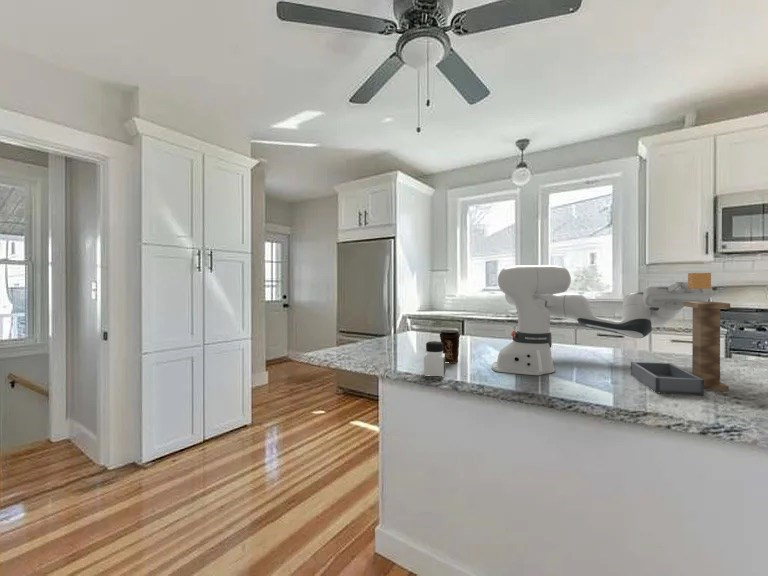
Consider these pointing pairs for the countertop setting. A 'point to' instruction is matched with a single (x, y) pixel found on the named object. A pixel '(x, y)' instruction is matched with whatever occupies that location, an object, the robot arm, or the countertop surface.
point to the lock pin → (698, 281)
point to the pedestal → (707, 343)
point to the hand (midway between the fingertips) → (685, 283)
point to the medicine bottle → (434, 359)
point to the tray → (667, 378)
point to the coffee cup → (450, 345)
